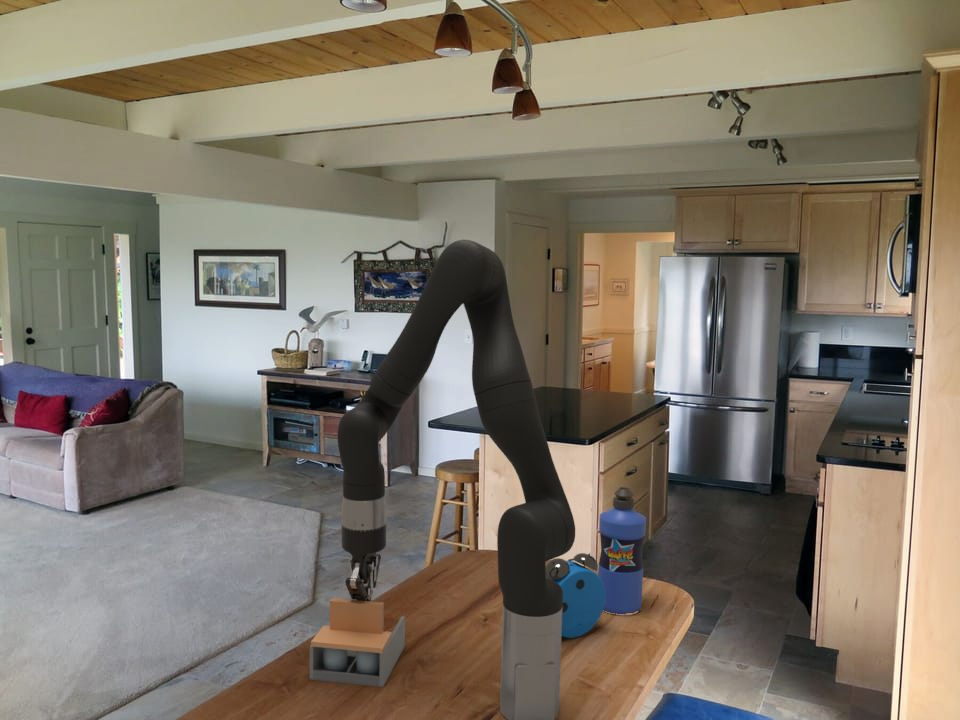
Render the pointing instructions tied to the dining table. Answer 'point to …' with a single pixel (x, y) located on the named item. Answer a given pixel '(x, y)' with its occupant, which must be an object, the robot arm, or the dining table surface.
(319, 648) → the housing
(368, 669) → the blue-grey rounded cylinder
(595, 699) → the dining table surface
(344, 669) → the grey rounded cylinder
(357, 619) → the lid
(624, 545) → the water bottle
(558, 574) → the alarm clock
